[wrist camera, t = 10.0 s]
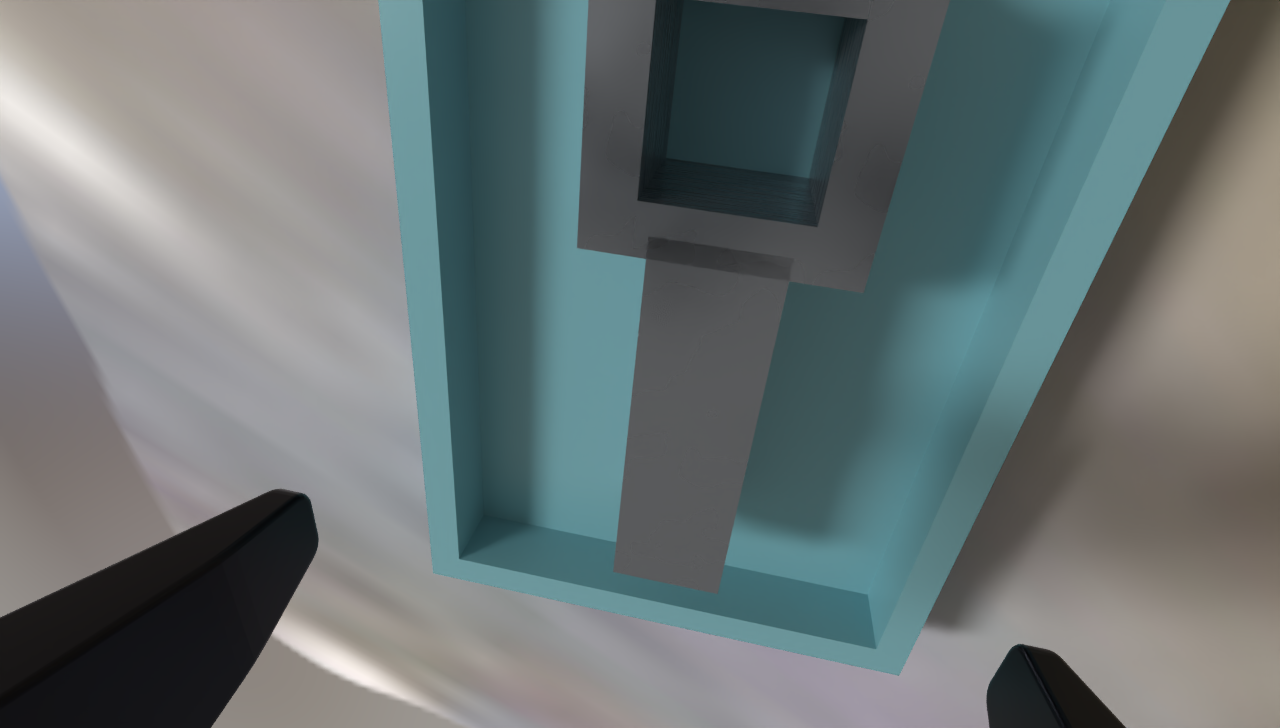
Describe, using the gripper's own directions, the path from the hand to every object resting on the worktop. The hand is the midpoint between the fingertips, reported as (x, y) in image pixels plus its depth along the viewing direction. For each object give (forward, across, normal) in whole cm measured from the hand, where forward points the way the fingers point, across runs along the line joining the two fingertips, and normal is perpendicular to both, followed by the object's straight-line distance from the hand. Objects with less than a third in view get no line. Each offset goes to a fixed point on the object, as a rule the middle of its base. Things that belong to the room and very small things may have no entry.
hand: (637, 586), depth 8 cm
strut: (+11, 0, 0) cm, 11 cm away
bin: (+12, 0, 0) cm, 12 cm away
